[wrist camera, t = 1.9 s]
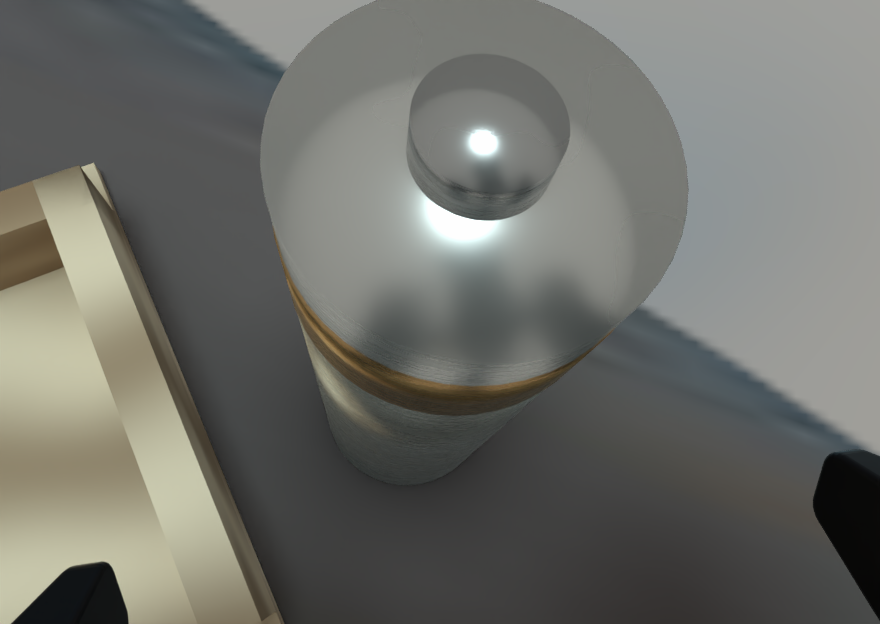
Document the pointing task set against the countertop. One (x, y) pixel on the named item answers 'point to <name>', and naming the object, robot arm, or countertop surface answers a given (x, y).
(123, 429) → the cradle
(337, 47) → the cell
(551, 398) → the countertop surface
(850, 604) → the countertop surface
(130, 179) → the countertop surface
